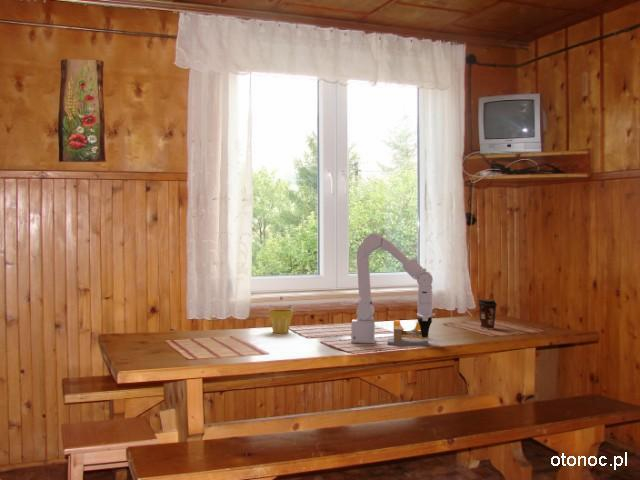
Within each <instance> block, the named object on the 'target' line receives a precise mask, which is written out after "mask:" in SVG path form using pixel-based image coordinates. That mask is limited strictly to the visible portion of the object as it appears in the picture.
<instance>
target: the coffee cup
mask: <svg viewBox="0 0 640 480" xmlns="http://www.w3.org/2000/svg"><path fill="white" fill-rule="evenodd" d="M497 305H498V304H497V302H496V301H495V300H494V299H487V298H483V299H479V300H478V306H479V310H478V316H479V321H480V325H479V326H480V327H479V328H480V329H482V328H485V329H484V330H494V329H495V321H496V311H497V310H496V309H497ZM493 328H494V329H493Z"/></svg>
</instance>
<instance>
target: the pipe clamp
mask: <svg viewBox="0 0 640 480" xmlns="http://www.w3.org/2000/svg"><path fill="white" fill-rule="evenodd" d="M394 326H402V324H401V321H400V320H398V319H397V320H393V327H394ZM402 330H406V329H405V328H404V327H402ZM413 330H421V328H420V325H419V322H418V321H417V322H416V325H415V327H414V329H413ZM403 337H405V338H414V339H421V335H402V338H403Z"/></svg>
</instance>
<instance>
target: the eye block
mask: <svg viewBox="0 0 640 480" xmlns="http://www.w3.org/2000/svg"><path fill="white" fill-rule="evenodd" d="M402 328H403V326H402V325H401V326H394V325H393V338H387V342H386V343H387V346H412V345H413V347H414V346H417V347H418V346H419V347H420V346H421V347H423V346H425V347H429V345H430V343H429V338H428V339H421V338H403V337H402Z"/></svg>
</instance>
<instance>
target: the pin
mask: <svg viewBox="0 0 640 480" xmlns="http://www.w3.org/2000/svg"><path fill="white" fill-rule="evenodd" d="M402 335H421V330H414V329H405V330H402ZM420 339H428V340H429V336H428V337H427V338H423V337H422V335H421V338H420Z"/></svg>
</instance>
